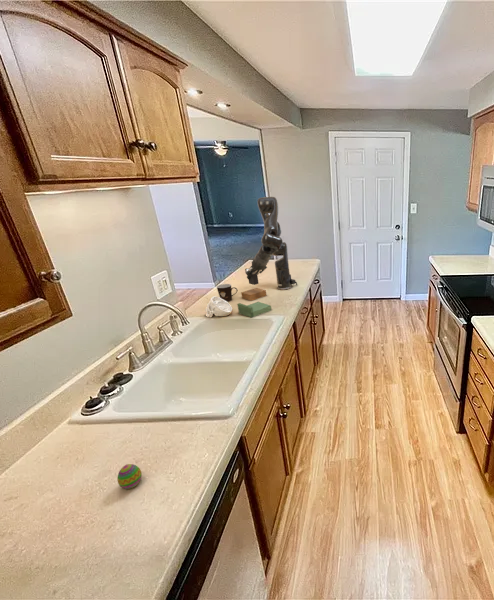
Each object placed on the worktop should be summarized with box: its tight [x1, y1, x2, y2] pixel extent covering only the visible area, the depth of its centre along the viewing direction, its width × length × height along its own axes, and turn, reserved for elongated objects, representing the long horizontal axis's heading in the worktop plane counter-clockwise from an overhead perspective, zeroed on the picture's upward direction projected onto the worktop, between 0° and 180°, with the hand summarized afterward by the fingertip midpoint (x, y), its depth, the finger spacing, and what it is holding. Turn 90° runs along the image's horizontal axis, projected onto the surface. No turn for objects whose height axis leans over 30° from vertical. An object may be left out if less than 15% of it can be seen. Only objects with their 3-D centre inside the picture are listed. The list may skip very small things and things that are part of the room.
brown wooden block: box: [240, 287, 267, 302], centre depth 221 cm, size 12×10×4 cm
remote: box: [248, 272, 259, 286], centre depth 193 cm, size 3×5×9 cm, turn 56°
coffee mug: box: [216, 283, 238, 303], centre depth 213 cm, size 12×9×10 cm
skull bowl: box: [204, 296, 234, 318], centre depth 191 cm, size 10×14×12 cm
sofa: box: [236, 301, 272, 318], centre depth 196 cm, size 14×12×6 cm
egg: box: [117, 463, 143, 490], centre depth 85 cm, size 5×5×6 cm
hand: (250, 277), depth 195 cm, fingers closed on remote, 3 cm apart
